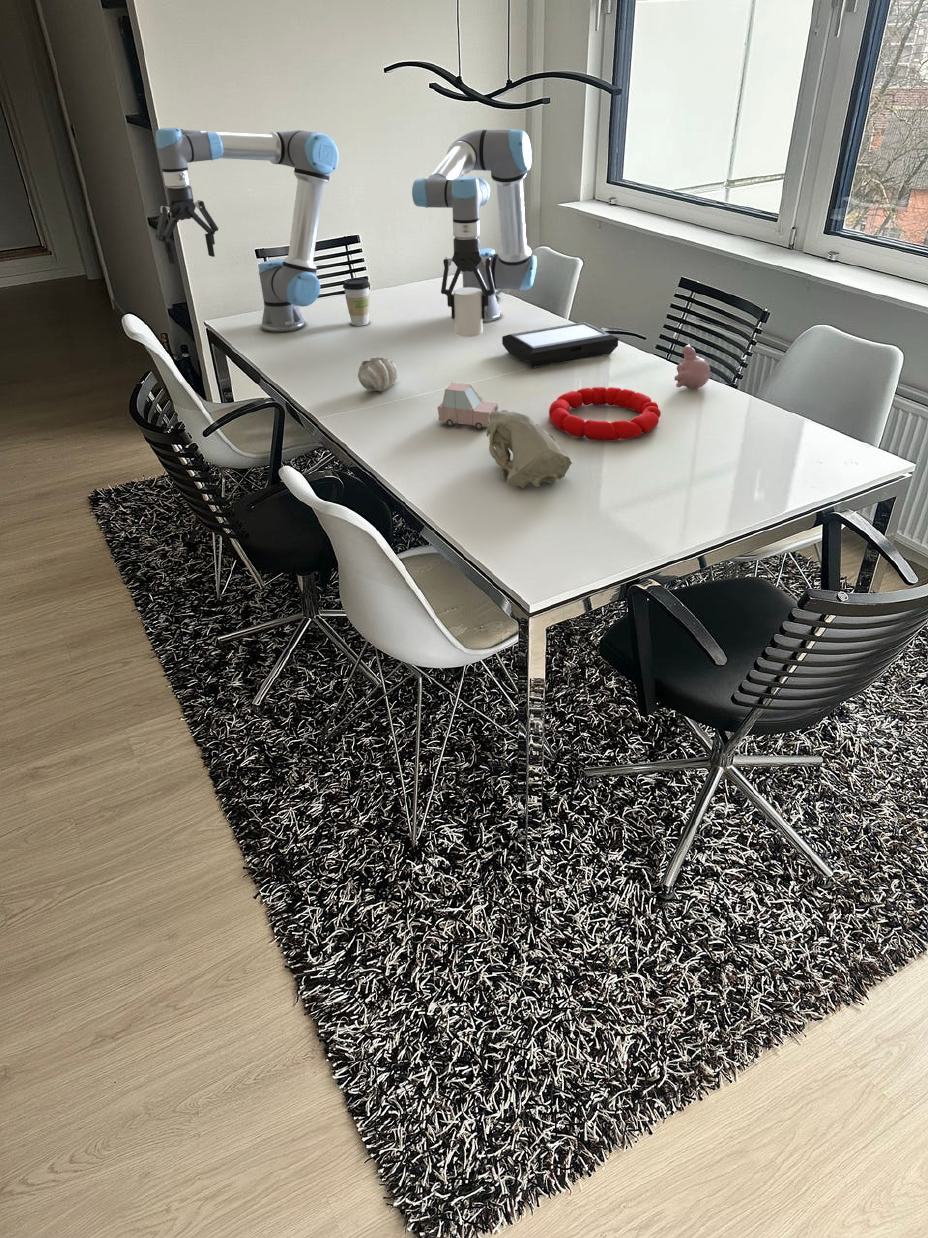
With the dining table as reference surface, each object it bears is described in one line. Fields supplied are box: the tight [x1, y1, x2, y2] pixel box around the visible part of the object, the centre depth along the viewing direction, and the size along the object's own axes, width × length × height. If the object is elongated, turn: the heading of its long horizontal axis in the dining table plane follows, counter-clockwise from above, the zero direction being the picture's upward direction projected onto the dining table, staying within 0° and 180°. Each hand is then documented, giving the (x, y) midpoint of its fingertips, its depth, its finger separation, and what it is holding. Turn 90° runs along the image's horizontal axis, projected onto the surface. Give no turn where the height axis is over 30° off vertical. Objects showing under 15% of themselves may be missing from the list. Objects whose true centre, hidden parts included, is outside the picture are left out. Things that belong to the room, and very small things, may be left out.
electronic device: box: [501, 321, 619, 369], centre depth 290 cm, size 32×6×20 cm
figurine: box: [674, 344, 711, 390], centre depth 259 cm, size 9×11×12 cm
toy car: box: [437, 382, 499, 431], centre depth 243 cm, size 9×15×10 cm, turn 70°
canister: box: [453, 287, 484, 338], centre depth 267 cm, size 8×8×12 cm
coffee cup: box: [342, 277, 371, 327], centre depth 323 cm, size 10×10×15 cm
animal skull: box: [485, 409, 573, 489], centre depth 216 cm, size 17×25×20 cm
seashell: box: [357, 357, 398, 392], centre depth 266 cm, size 10×15×10 cm
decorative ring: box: [548, 386, 661, 442], centre depth 242 cm, size 7×30×30 cm
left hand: (192, 259), depth 282 cm, fingers open, 13 cm apart
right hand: (468, 317), depth 267 cm, fingers closed on canister, 8 cm apart
